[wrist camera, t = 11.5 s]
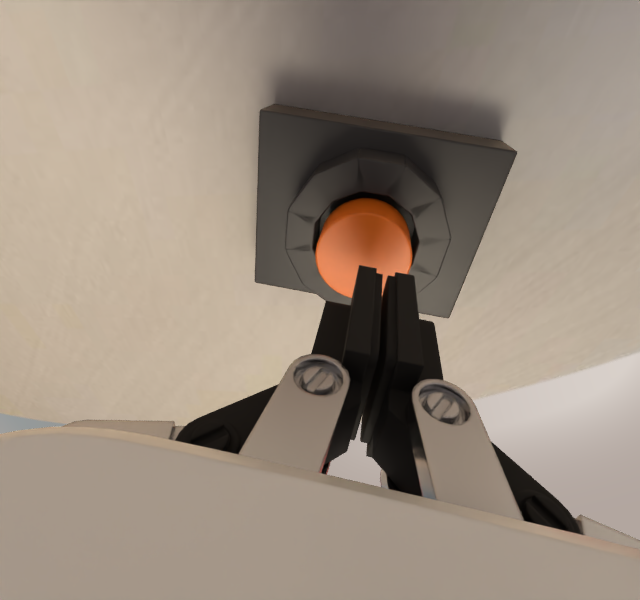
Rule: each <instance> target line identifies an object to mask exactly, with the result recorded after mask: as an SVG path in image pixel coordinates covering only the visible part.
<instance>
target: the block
mask: <svg viewBox="0 0 640 600" xmlns="http://www.w3.org/2000/svg"><path fill="white" fill-rule="evenodd" d="M516 155H517V151H515V150H514V149H513V148H511V147H510V146H508V145H507V144H505V143H504V142H502V141H500V140H494V139H488V138H482V137H475V136H469V135H463V134H457V133H451V132H444V131H438V130H432V129H426V128H420V127H413V126H407V125H401V124H395V123H389V122H382V121H376V120H370V119H364V118H358V117H352V116H345V115H339V114H333V113H327V112H321V111H314V110H308V109H302V108H296V107H290V106H283V105H277V104H273V105H271V106H268V107H266V108H264V109H261V110H260V116H259V152H258V187H257V223H256V258H255V282H256V283H261V284H266V285H272V286H277V287H283V288H288V289H293V290H299V291H304V292H309V293H315V294H317V295H319V296H320V297H321V298H323V299H324V300H325V301H331V302H336V303H341V304H346V305H351V300H352V298H350V297H347V296H344V295H342V294H340V293H338V292H336V291H335V290H333V289H332V288H331V287H330V286H329V285H328V284H327V283H326V282H325V281H324V280H323V278H322V277H321V275H320V273H319V271H318V268H317V265H316V258H315V253H316V246H317V243H318V240H319V237H320V234H321V232H322V229H323V226H324V223H325V221H326V219H327V218H328V216H329V215H330V214H331V213H332V212H333V211H334V210H335V209H336V208H337V207H338V206H340V205H342V204H343V203H345V202H348V201H350V200H354V199H359V198H373V199H378V200H381V201H384V202H386V203H388V204H390V205H391V206H393V207H394V208H395V209H396V210H397V211H398V212H400V214H401V215H402V216H403V218H404V219H405V221H406V223H407V226H408V229H409V234H410V240H411V247H412V264H411V268H410V270H409V273H408V274H409V275H414V277H415V285H416V295H417V304H418V313H422V314H427V315H433V316H438V317H443V318H449V317H450V315H451V312H452V310H453V307H454V305H455V302H456V300H457V298H458V295H459V293H460V290H461V288H462V285H463V283H464V281H465V278H466V276H467V273H468V271H469V269H470V266H471V264H472V261H473V259H474V256H475V254H476V252H477V249H478V247H479V244H480V242H481V239H482V237H483V235H484V232H485V230H486V227H487V225H488V222H489V220H490V218H491V215H492V213H493V210H494V208H495V206H496V203H497V201H498V198H499V196H500V193H501V191H502V189H503V186H504V184H505V181H506V179H507V176H508V174H509V172H510V169H511V167H512V164H513V162H514V159H515V157H516Z"/></svg>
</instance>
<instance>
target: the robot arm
mask: <svg viewBox="0 0 640 600" xmlns="http://www.w3.org/2000/svg"><path fill="white" fill-rule="evenodd" d="M376 272H377V268H372V267H367V266H362V265H359V268H358V272H357V277H356V281H355V286H354V291H353V296H352V300H351V305H346V304H341V303H336V302H331V301H326V303H325V307H324V310H323V314H322V318H321V321H320V325H319V328H318V332H317V335H316V339H315V343H314V346H313V350H312V353H311V354H309V355H305V356H301V357H299V358H298V359H296V360H294V361H293V363H292V364H291V365H290V366H289V368H288V369H287V371H286V373H285V375H284V376H283V378H282V380H281V381H280V383H279V384H278V385H276V386H273V387H271V388H269V389H266V390H264V391H262V392H259V393H257V394H254V395H252V396H250V397H247V398H245V399H242V400H240V401H238V402H235V403H233V404H231V405H228V406H226V407H223V408H221V409H219V410H216V411H214V412H211V413H209V414H207V415H204V416H202V417H200V418H197V419H196V420H194V421H192V422H190V423H189V424H187V425H186V426H175V422H174V421H130V420H82V421H74V422H72V423H69V424H67V425H64V426H62V427H46V428H36V429H28V430H19V431H13V432H8V433H3V434H0V600H640V540H638V539H636V538H633V537H631V536H629V535H626V534H624V533H622V532H619V531H617V530H615V529H612V528H610V527H608V526H605V525H603V524H601V523H598V522H596V521H594V520H592V519H589V518H587V517H585V516H582V515H579V516H578V517H577V518H576V519H575V518H573V517H572V515H571V514H570V512H569V511H568V510H567V509H566V508H565V507H564V506H563V505H562V504H561V503H560V502H559V501H558V500H557V499H556V498H555V497H554V496H553V495H552V494H550V493H549V492H548V491H547V490H546V489H545V488H544V487H542V486H541V485H540V484H539V483H538V482H537V481H536V480H534V479H533V478H532V477H531V476H530V475H529V474H527V473H526V472H525V471H524V470H523V469H522V468H521V467H520V466H518V465H517V464H516V463H515V462H514V461H513V460H512V459H510V458H509V457H508V456H507V455H506V454H505V453H504V452H502V451H501V450H500V449H499V448H498V447H497V446H496V445H494V444H493V443H492V442H491V441H490V439H489V436H488V434H487V431H486V429H485V427H484V424H483V422H482V420H481V417H480V415H479V413H478V410H477V408H476V406H475V404H474V402H473V401H472V399H471V398H470V397H469V396H468V395H467V394H466V393H465V392H464V391H463V390H462V389H460V388H459V387H457V386H456V385H454V384H452V383H449V382H447V381H444V380H443V374H442V368H441V362H440V356H439V350H438V344H437V338H436V331H435V326H434V323H433V322H431V321H426V320H421V319H419V314H418V304H417V295H416V285H415V277H414V275H409V274H404V273H398V272H396V273H395V275H394V276H389V275H388V276H387V280H386V283H385V287H384V291H383V294H382V281H383V274H379V273H376ZM361 417H362V425H361V438H360V440H361V442H364V443H367V456H368V457H372V458H373V459H374V460H375V461H376V462H377V463H378V465H379V466H380V467H381V468H382V470H381V474H380V482H381V487H378V486H373V485H369V484H365V483H360V482H356V481H352V480H347V479H343V478H339V477H335V476H330V475H327V472H328V469H329V466H330V462H331V461H332V460H333V459H335V458H337V457H338V456H340V455H342V454H343V453H345V452H346V451H347V449H348V446H349V442H350V439H351V440H354V439H355V437H356V434H357V430H358V427H359V424H360V420H361Z"/></svg>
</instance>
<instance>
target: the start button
mask: <svg viewBox="0 0 640 600" xmlns="http://www.w3.org/2000/svg"><path fill="white" fill-rule="evenodd" d="M315 258H316V265H317V268H318V271H319V273H320V275H321V277H322V278H323V280H324V281H325V282H326V283H327V284H328V285H329V286H330V287H331V288H332V289H333V290H335V291H336V292H338V293H340V294H342V295H344V296H347V297H350V298H352V296H353V291H354V286H355V281H356V277H357V272H358V268H359V265H362V266H367V267H372V268H377V272H376V273H379V274H383V281H382V294H383V291H384V287H385V283H386V280H387V276H388V275H389V276H394V275H395V273H396V272H398V273H404V274H408V273H409V270H410V268H411V264H412V247H411V240H410V234H409V229H408V226H407V223H406V221H405V219H404V218H403V216H402V215H401V214H400V212H398V211H397V210H396V209H395V208H394V207H393V206H391V205H390V204H388V203H386V202H384V201H381V200H378V199H373V198H359V199H354V200H350V201H348V202H345V203H343V204H342V205H340V206H338V207H337V208H336V209H335V210H334V211H333V212H332V213H331V214H330V215H329V216H328V218H327V219H326V221H325V223H324V226H323V229H322V232H321V234H320V237H319V240H318V243H317V246H316V253H315Z"/></svg>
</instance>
